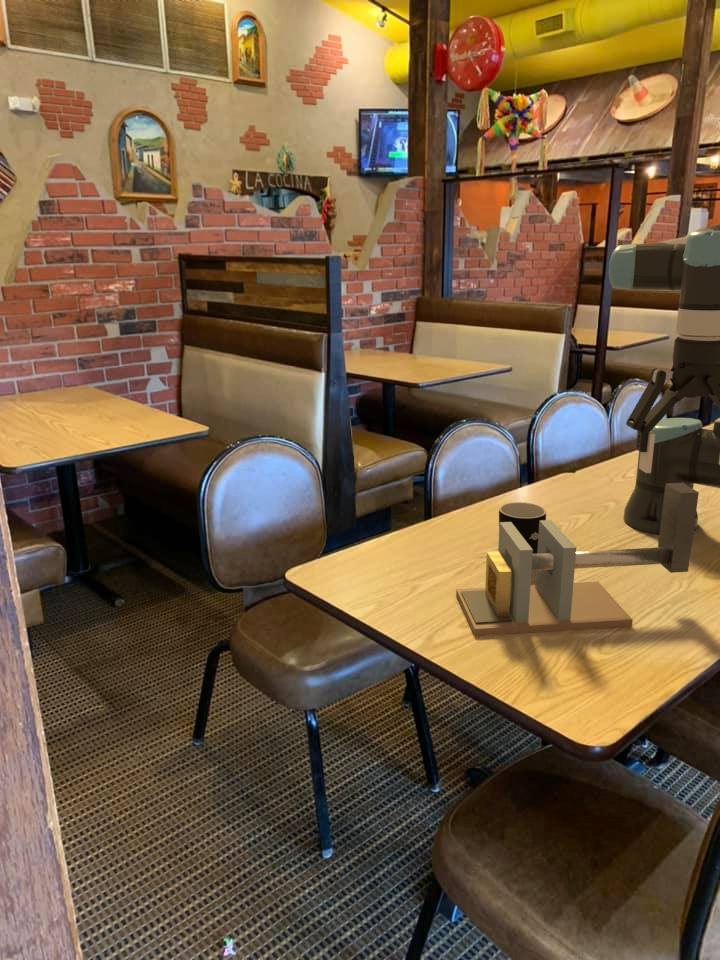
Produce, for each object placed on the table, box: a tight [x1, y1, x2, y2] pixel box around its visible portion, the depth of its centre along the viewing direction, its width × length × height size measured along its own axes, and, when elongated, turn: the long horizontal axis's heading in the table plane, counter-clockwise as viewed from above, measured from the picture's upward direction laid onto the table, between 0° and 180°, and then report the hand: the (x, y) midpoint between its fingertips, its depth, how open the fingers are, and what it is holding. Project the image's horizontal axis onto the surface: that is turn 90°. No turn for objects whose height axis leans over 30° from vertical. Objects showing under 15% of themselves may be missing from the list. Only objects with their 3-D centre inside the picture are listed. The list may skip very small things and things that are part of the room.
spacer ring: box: [484, 550, 512, 616], centre depth 121 cm, size 2×8×8 cm, turn 5°
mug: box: [498, 501, 547, 554], centre depth 143 cm, size 12×9×10 cm
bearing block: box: [455, 519, 634, 636], centre depth 121 cm, size 26×14×14 cm, turn 95°
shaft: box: [531, 483, 700, 574], centre depth 119 cm, size 27×5×14 cm, turn 95°
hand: (685, 468), depth 117 cm, fingers open, 13 cm apart
